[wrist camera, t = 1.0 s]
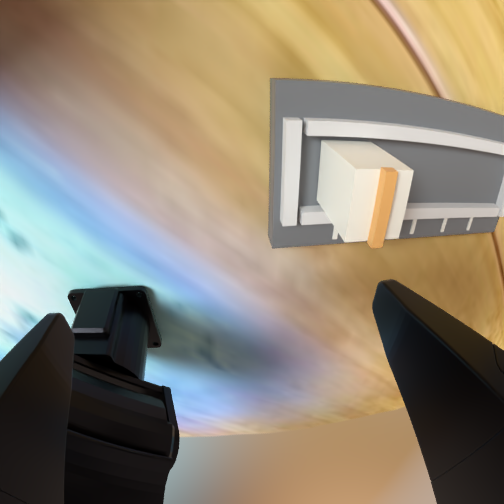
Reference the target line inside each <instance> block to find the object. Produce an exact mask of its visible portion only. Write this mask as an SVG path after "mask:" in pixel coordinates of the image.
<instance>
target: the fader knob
mask: <svg viewBox="0 0 504 504" xmlns="http://www.w3.org/2000/svg"><path fill="white" fill-rule="evenodd" d="M413 172H414V170H412V169H411V168H409V167H408V166H407V165H405V164H404V163H402V162H401V161H399V160H398V159H396V158H395V157H393V156H392V155H390V154H389V153H387V152H386V151H384V150H383V149H381V148H380V147H378V146H377V145H375V144H373V143H372V142H365V141H341V140H321V153H320V166H319V179H318V190H317V201H318V203H319V204H320V206H321V207H322V209H323V210H324V212H325V213H326V215H327V216H328V218H329V219H330V221H331V222H332V224H333V225H334V227H335V228H336V230H337V231H338V233H339V235H340V236H341V238H342V239H343V241H344V242H358V241H367V243H368V245H369V246H370V247H371V248H382V246H383V242H384V240H385V239H398V238H399V235H400V231H401V227H402V223H403V218H404V214H405V210H406V206H407V201H408V197H409V192H410V187H411V182H412V177H413Z"/></svg>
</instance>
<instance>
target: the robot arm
mask: <svg viewBox="0 0 504 504" xmlns="http://www.w3.org/2000/svg"><path fill="white" fill-rule="evenodd" d="M138 292H140V293H142V294H139V293H138ZM74 296H75V297H74ZM68 299H69V301H70V304H71V306H72V308H73V310H74V312H75V314H76V316H75V318H74V321H73V324H72V327H71V328H70V326H69V325H68V323H67V321H66V319H65V317H64V316H63V315H62V314H61V313H49V314H47V315H46V316H45V317H44V318H43V319H42V320H41V321H40V322H39V323H38V324H37V325H36V326H35V327H34V328H32V329H31V330H30V331H29V332H28V333H27V334H26V335H25V336H24V337H23V338H22V339H21V340H20V341H19V342H18V343H17V344H16V345H15V346H14V347H13V349H12V350H11V351H10V352H9V353H8V354H7V355H6V356H5V357H4V358H3V359H2V360H1V361H0V504H163V500H164V491H165V485H166V481H167V477H168V474H169V471H170V469H171V468H172V467H173V465H174V463H175V461H176V458H177V454H178V449H179V429H178V424H177V420H176V415H175V410H174V405H173V400H172V394H171V389H170V388H169V387H166V386H159V385H156V384H153V383H150V382H146V381H144V375H145V365H146V356H147V348H157V347H160V346H161V344H162V339H161V336H160V333H159V330H158V327H157V324H156V320H155V317H154V314H153V311H152V307H151V304H150V300H149V297H148V293H147V290H146V289H145V288H144V287H142V286H133V287H117V288H99V289H80V290H71V291H70V292H69V294H68ZM372 309H373V314H374V317H375V320H376V323H377V326H378V330H379V333H380V336H381V340H382V343H383V347H384V350H385V353H386V357H387V359H388V362H389V365H390V367H391V370H392V372H393V375H394V377H395V380H396V382H397V385H398V387H399V390H400V393H401V395H402V398H403V401H404V403H405V406H406V408H407V411H408V414H409V417H410V420H411V422H412V425H413V428H414V431H415V434H416V437H417V439H418V442H419V446H420V448H421V452H422V455H423V458H424V461H425V464H426V467H427V470H428V474H429V477H430V480H431V484H432V488H433V491H434V495H435V498H436V502H437V504H504V350H502V349H501V348H499V347H498V346H496V345H495V344H492V342H491V341H489V340H488V339H486V338H485V337H483V336H482V335H480V334H479V333H477V332H476V331H474V330H473V329H471V328H470V327H468V326H467V325H465V324H464V323H462V322H461V321H459V320H458V319H456V318H454V317H453V316H451V315H450V314H448V313H447V312H445V311H444V310H442V309H441V308H439V307H437V306H436V305H434V304H433V303H431V302H430V301H428V300H426V299H425V298H423V297H422V296H420V295H418V294H417V293H415V292H414V291H412V290H410V289H409V288H407V287H406V286H404V285H402V284H401V283H399V282H397V281H396V280H393V279H389V280H383V281H380V282H379V283H378V286H377V289H376V293H375V296H374V300H373V304H372Z"/></svg>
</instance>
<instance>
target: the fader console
mask: <svg viewBox="0 0 504 504" xmlns="http://www.w3.org/2000/svg"><path fill="white" fill-rule="evenodd" d="M321 140H341V141H365V142H372V143H373V144H375V145H377V146H378V147H380V148H381V149H383V150H384V151H386V152H387V153H389V154H390V155H392V156H393V157H395V158H396V159H398V160H399V161H401V162H402V163H404V164H405V165H407V166H408V167H409V168H411V169H412V170H414V172H413V177H412V182H411V187H410V192H409V197H408V201H407V206H406V210H405V214H404V218H403V223H402V227H401V231H400V235H399V238H398V239H404V238H418V237H431V236H445V235H458V234H472V233H485V232H494V230H495V228H496V225H497V222H498V219H499V217H504V116H503V115H500V114H497V113H494V112H491V111H488V110H485V109H481V108H478V107H474V106H471V105H467V104H464V103H460V102H456V101H452V100H448V99H444V98H440V97H435V96H431V95H426V94H421V93H416V92H411V91H405V90H400V89H394V88H387V87H381V86H374V85H366V84H358V83H349V82H338V81H327V80H312V79H289V78H270V168H269V226H268V236H269V240H270V243H271V246H272V248H285V247H298V246H312V245H325V244H338V243H351V242H344V241H343V239H342V238H341V236H340V235H339V233H338V231H337V230H336V228H335V227H334V225H333V224H332V222H331V221H330V219H329V218H328V216H327V215H326V213H325V212H324V210H323V209H322V207H321V206H320V204H319V203H318V201H317V190H318V179H319V166H320V153H321ZM385 240H391V239H385ZM358 242H364V241H358Z"/></svg>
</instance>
